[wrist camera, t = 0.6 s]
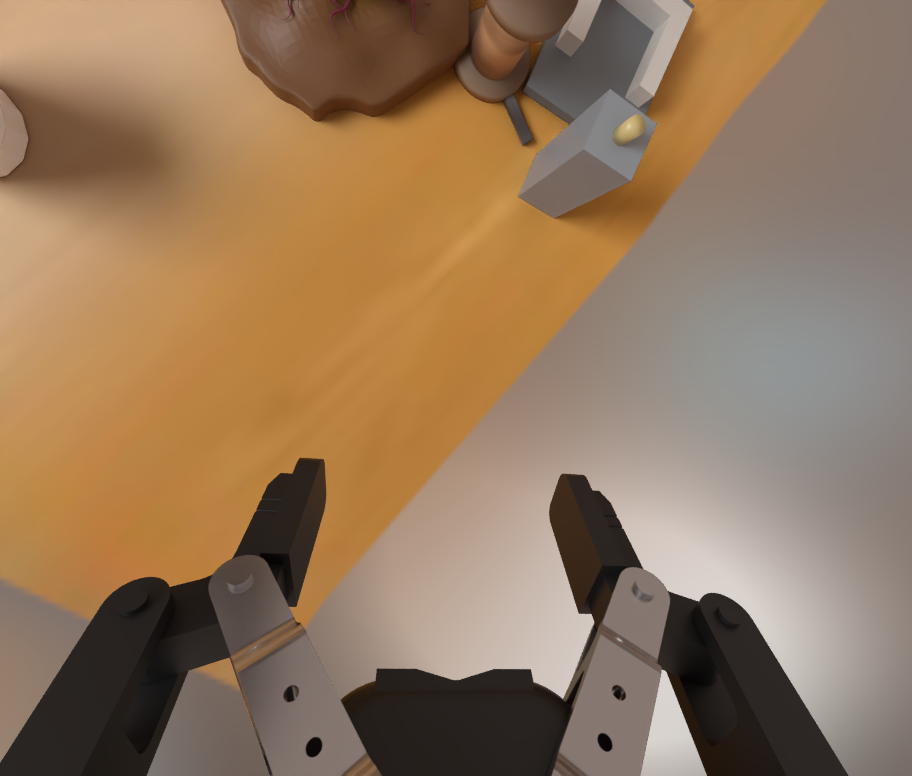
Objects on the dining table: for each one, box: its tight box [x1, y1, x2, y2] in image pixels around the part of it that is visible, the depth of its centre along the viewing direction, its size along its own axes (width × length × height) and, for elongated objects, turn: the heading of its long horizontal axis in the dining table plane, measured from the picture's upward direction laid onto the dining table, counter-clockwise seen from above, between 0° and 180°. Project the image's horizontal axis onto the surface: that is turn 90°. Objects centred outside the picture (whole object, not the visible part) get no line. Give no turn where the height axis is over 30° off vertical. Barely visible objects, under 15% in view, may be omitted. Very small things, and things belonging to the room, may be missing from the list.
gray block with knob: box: [518, 89, 657, 218], centre depth 31 cm, size 4×4×13 cm
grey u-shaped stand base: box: [522, 0, 694, 124], centre depth 35 cm, size 14×11×3 cm
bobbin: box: [454, 0, 578, 145], centre depth 30 cm, size 10×6×9 cm, turn 6°
